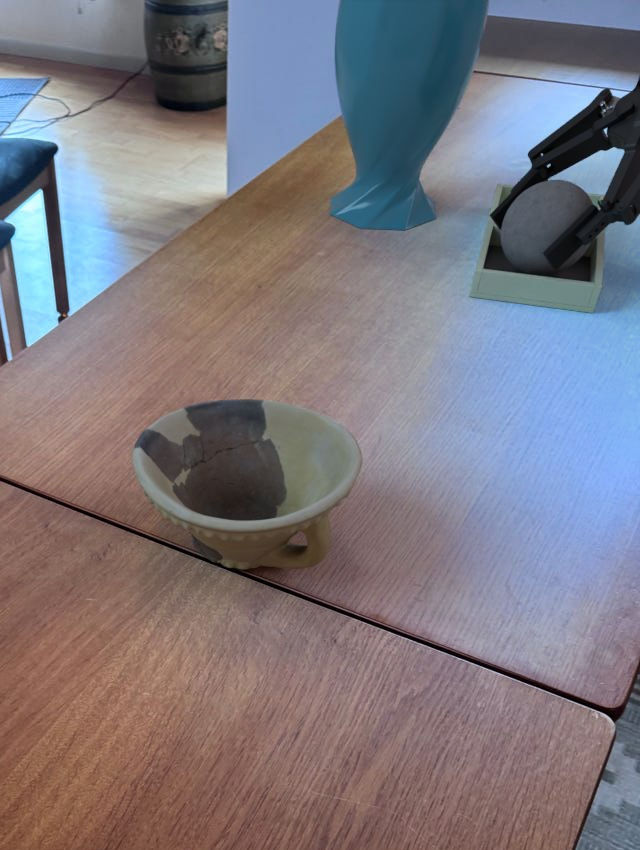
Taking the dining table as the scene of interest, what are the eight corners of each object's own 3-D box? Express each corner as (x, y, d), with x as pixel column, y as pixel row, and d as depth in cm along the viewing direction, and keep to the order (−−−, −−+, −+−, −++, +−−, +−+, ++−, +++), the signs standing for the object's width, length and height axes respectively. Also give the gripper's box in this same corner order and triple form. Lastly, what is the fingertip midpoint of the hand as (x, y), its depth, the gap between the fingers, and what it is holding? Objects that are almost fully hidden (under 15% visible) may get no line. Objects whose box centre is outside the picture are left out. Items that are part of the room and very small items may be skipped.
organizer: (598, 219, 118) (606, 194, 116) (593, 313, 102) (602, 286, 99) (491, 207, 122) (497, 183, 119) (468, 296, 105) (475, 270, 103)
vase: (314, 231, 118) (342, -55, 96) (321, 180, 129) (348, -86, 108) (450, 238, 116) (511, -54, 94) (445, 185, 127) (499, -86, 105)
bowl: (390, 540, 76) (411, 445, 69) (247, 653, 68) (254, 558, 61) (235, 454, 85) (240, 362, 78) (91, 545, 77) (82, 451, 70)
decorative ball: (475, 261, 109) (495, 174, 102) (545, 247, 111) (570, 160, 104) (524, 298, 103) (549, 207, 95) (598, 282, 105) (628, 192, 97)
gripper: (783, 128, 90) (595, 305, 99) (635, 65, 105) (483, 223, 113) (765, 74, 85) (568, 264, 94) (612, 15, 100) (454, 184, 108)
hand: (521, 242), depth 104 cm, fingers closed on decorative ball, 10 cm apart
